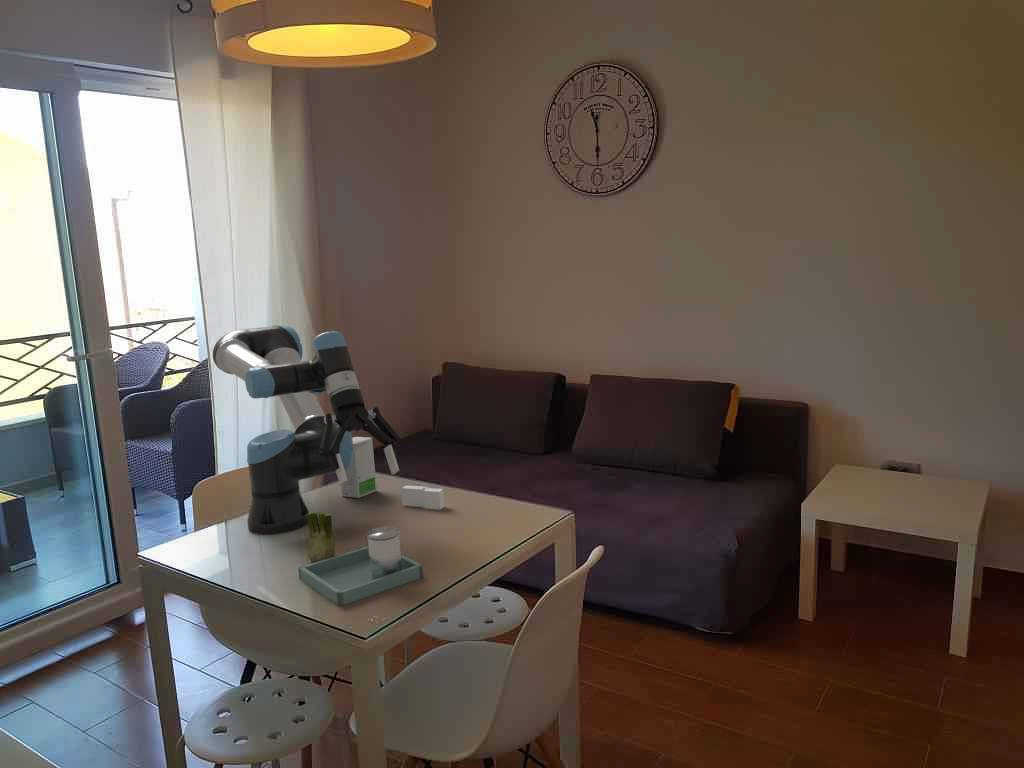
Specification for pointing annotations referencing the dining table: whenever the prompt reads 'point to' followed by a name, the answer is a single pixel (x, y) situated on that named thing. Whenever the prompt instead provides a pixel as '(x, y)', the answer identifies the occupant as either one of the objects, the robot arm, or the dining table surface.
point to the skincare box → (360, 470)
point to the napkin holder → (423, 497)
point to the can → (384, 551)
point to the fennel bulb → (320, 537)
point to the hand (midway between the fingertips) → (370, 477)
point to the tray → (354, 576)
